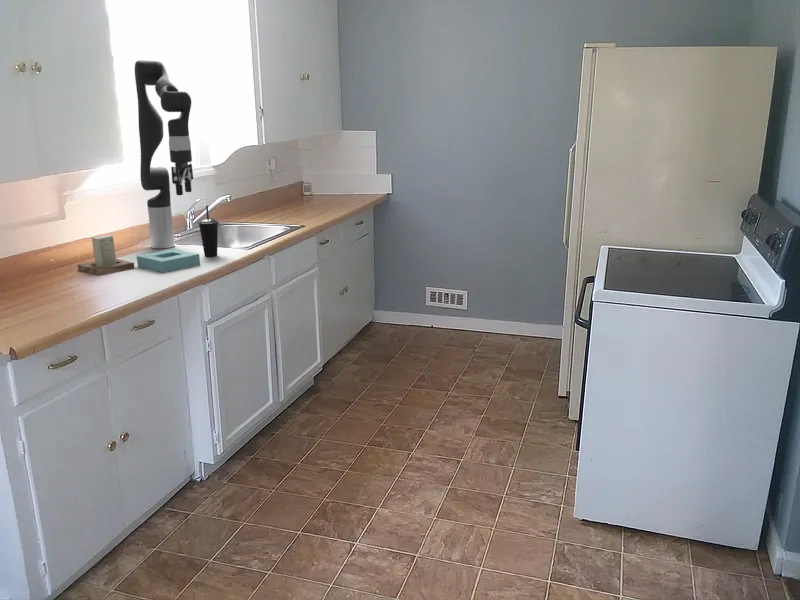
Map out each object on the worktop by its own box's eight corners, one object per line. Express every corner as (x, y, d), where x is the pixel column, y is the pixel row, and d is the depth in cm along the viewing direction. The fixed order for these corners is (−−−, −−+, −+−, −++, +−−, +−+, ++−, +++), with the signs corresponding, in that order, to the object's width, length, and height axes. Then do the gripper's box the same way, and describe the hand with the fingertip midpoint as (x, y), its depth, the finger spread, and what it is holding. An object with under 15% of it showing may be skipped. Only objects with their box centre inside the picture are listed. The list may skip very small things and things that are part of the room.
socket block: (137, 266, 260) (136, 256, 259) (174, 259, 272) (173, 249, 271) (163, 272, 250) (162, 261, 249) (200, 264, 263) (199, 253, 262)
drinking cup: (201, 258, 273) (196, 207, 267) (201, 254, 280) (196, 204, 274) (221, 257, 274) (217, 206, 269) (220, 253, 282) (216, 203, 276)
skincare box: (111, 266, 260) (107, 234, 257) (117, 268, 258) (113, 235, 254) (95, 269, 256) (91, 237, 252) (101, 271, 253) (97, 238, 250)
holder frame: (78, 270, 255) (77, 264, 255) (113, 263, 266) (113, 258, 266) (98, 275, 247) (98, 269, 247) (134, 268, 258) (133, 262, 257)
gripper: (177, 147, 261) (181, 191, 265) (162, 150, 247) (166, 196, 252) (197, 147, 260) (200, 191, 265) (182, 150, 247) (186, 196, 251)
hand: (184, 193), depth 258 cm, fingers open, 8 cm apart
